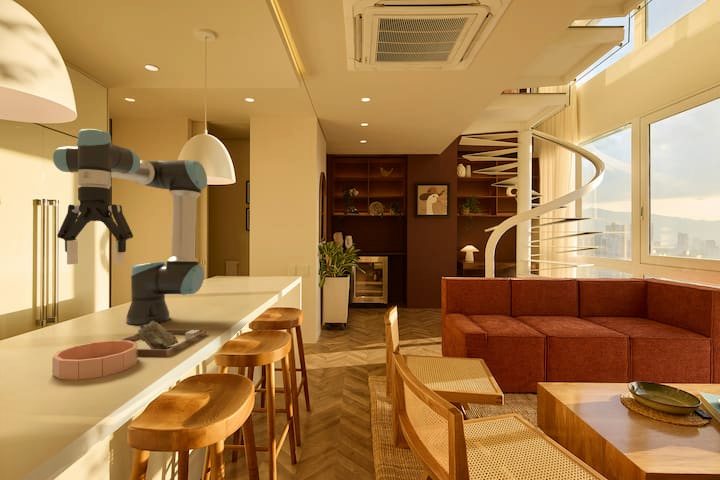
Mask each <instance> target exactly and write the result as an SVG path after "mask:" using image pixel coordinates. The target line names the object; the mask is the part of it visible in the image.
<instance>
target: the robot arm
mask: <svg viewBox="0 0 720 480" xmlns="http://www.w3.org/2000/svg"><path fill="white" fill-rule="evenodd" d="M52 161H53V164H54V166H55V167H56V168H57V170H59V171H61V172H63V173H64V172H65V173H77V184H78V186H79V187H78V188H77V200H78V201H79V202H80V203H79V204H78V205H77V204H69V205H68V206H67V213H66V215H65V218H64V220H63V221H62V223H61V226H60V229H59V231H58V233H57V238H58V239H62V240H63V241H64V251H65V252H66V265H77V264H79V255H78V253H79V251H78V250H79V249H78V248H79V247H78V245H79V243H78V240H77V237H78V236H79V234H81V232H82V231H83V230H84V228H85V227H86V226H87V224H88V223H90V222H101V223H103V224H104V225H105V227H106V228H107V229H108V231H109V232H110V233H111V234H112V236H113V237H114V238H115V240H113V265H114V266H119V265H125V262H124V261H125V260H124V259H125V258H124V255H125V254H124V253H126V251H127V247H126V246H127V240H129V239H132V238H134V234H133V232H132V230H131V228H130V226H129V223H128V222H127V220H126V217H125V215H124V213H123V207H122V205H120V204H111V202H112V189H111V187H112V178H113V179H120V180H125V181H132V182H134V183H136V184H138V185H140V186H145V187H150V188H154V189H161V190H168V193H169V194H170V195H171V196H172V198H173V199H172V223H171V225H172V226H171V227H172V228H171V249H170V250H171V251H170V252H171V253H170V255H171V256H170V257H169V258H168V259H167V260H166V263H165V261H156V262H148V263H147V262H146V263H140V264H134V265H133V266H132V268H131V273H130V274H131V275H130V279H131V283H130V285H131V290H130V291H131V304H130V306H129V308H128V311H127V314H126V316H125V317H126V319H125V320H126V321H125V323H126V324H128V325H148V324H149V323H150V322H151V321H154V322H157V323H158V324H159V323H161V322H167V321H168V320H169V319H170V314H171V313H170V311H169V307H168V305H167V303H166V295H182V296H186V295H194V294H196V293H197V292H199V291H200V289H201V288H202V286H203V284H204V279H205V271H204V267H203V266H202V265H200V264H199V260H198V259H197V257H196V255H195V254H196V225H197V201H198V200H197V199H198V198H199V197H200V196H201V195H202V191H203V190H205V189H206V188H207V185H208V177H207V173H206V169H205V168H204V166H203V164H202V163H201V162H199V161H198V160H190V159H186V160H185V159H184V160H179V159H178V160H163V159H162V160H144V159H141V158H140V157H139V155H138V154H137V153H136V152H135V151H133V150H131V149H130V148H127V147H123V146H120V145H117V144H114V143H113V142H112V136H111V135H110V133H109V132H108V131H104V130H100V129H95V128H84V129H80V130H79V131H78V133H77V142H76V146H70V145H69V146H61V147H58V148H55V150H54V152H53V155H52ZM79 213H80V214H79ZM110 213H111V214H112V215H111V214H110Z"/></svg>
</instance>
